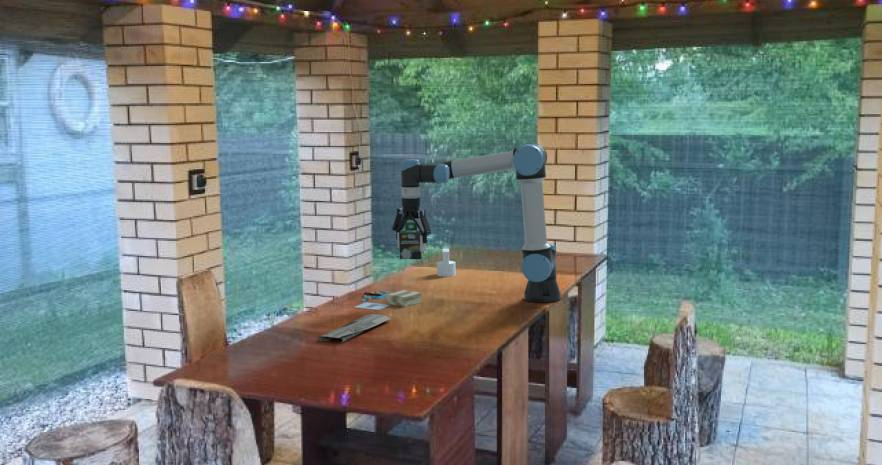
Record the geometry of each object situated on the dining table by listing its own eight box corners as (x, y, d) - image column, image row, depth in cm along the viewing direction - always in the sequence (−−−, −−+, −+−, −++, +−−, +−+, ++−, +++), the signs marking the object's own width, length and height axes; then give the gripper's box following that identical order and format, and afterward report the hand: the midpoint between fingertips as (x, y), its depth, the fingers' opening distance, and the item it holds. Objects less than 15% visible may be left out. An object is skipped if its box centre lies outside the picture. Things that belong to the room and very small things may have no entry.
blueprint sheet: (390, 305, 348) (390, 304, 348) (378, 310, 340) (378, 309, 340) (366, 302, 354) (366, 302, 354) (353, 307, 346) (353, 306, 346)
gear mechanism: (351, 301, 359) (370, 303, 355) (351, 289, 359) (369, 290, 354) (377, 292, 377) (395, 293, 372) (377, 280, 376) (395, 281, 371)
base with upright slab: (455, 276, 405) (455, 251, 403) (436, 276, 405) (436, 252, 403) (455, 272, 414) (455, 248, 412) (437, 273, 414) (436, 248, 412)
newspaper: (365, 319, 328) (364, 310, 328) (393, 321, 323) (393, 312, 323) (315, 343, 296) (315, 333, 296) (346, 346, 291) (346, 336, 291)
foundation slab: (421, 302, 352) (421, 292, 352) (405, 306, 345) (404, 297, 344) (403, 299, 359) (403, 290, 358) (387, 303, 351) (387, 294, 351)
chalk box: (424, 255, 354) (424, 220, 352) (421, 259, 345) (421, 223, 343) (402, 255, 355) (402, 220, 353) (399, 259, 346) (398, 223, 344)
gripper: (383, 196, 351) (384, 247, 354) (426, 199, 335) (427, 253, 339) (395, 194, 357) (396, 245, 360) (439, 198, 341) (439, 251, 344)
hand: (411, 249), depth 349 cm, fingers closed on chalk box, 12 cm apart
